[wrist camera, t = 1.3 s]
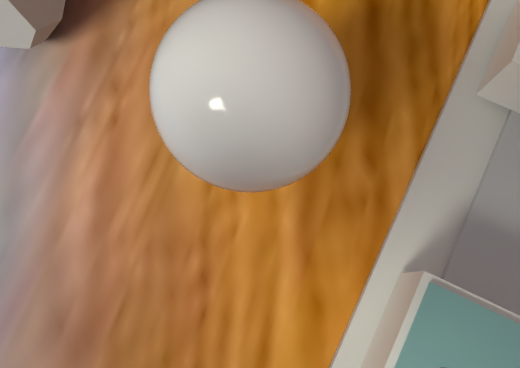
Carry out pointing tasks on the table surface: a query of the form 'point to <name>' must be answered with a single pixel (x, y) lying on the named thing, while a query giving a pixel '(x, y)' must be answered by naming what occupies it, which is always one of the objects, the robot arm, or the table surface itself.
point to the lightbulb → (250, 92)
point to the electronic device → (28, 21)
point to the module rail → (454, 228)
